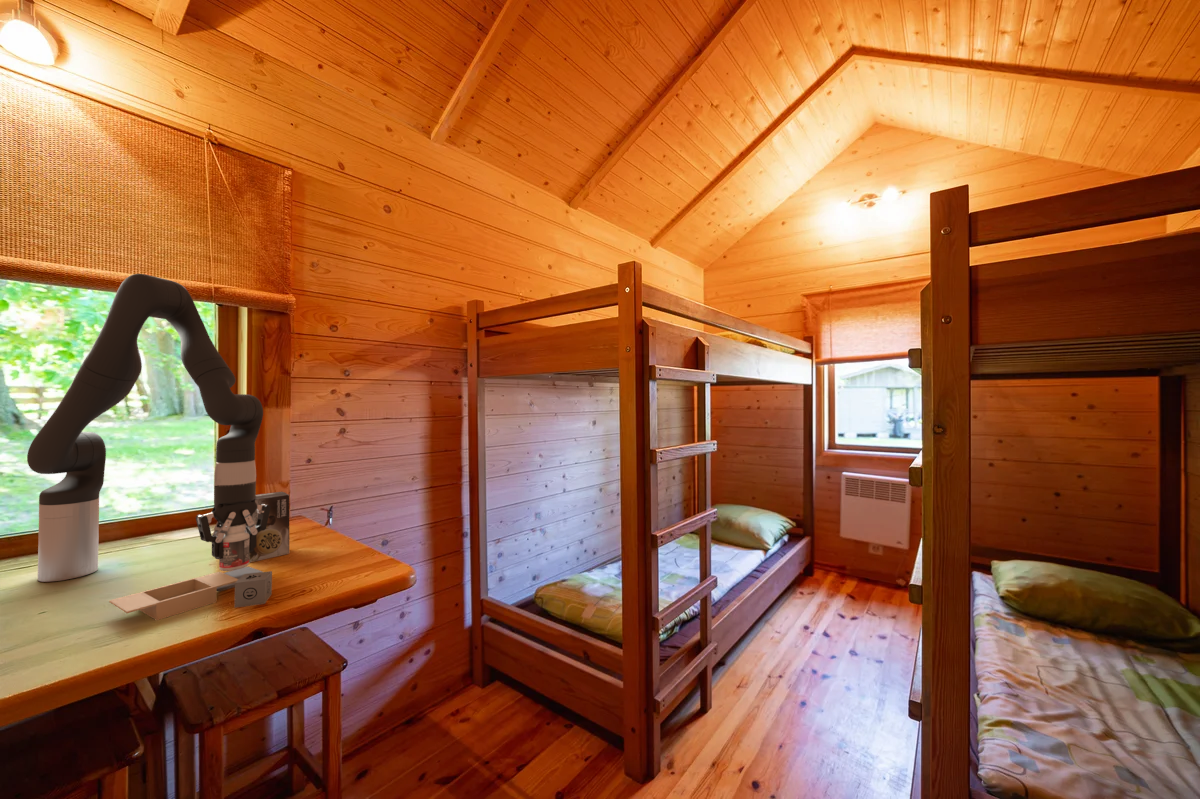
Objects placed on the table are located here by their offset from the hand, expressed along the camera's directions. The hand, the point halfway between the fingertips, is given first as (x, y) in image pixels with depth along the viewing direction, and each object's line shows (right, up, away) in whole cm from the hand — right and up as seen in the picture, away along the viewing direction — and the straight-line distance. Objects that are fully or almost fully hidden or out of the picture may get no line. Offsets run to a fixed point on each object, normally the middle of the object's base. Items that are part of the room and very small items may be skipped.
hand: (234, 554), depth 105 cm
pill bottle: (0, -3, 0) cm, 3 cm away
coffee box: (-5, -6, +16) cm, 18 cm away
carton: (-1, -6, -13) cm, 15 cm away
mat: (0, -6, 0) cm, 6 cm away
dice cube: (+13, -6, -11) cm, 18 cm away
